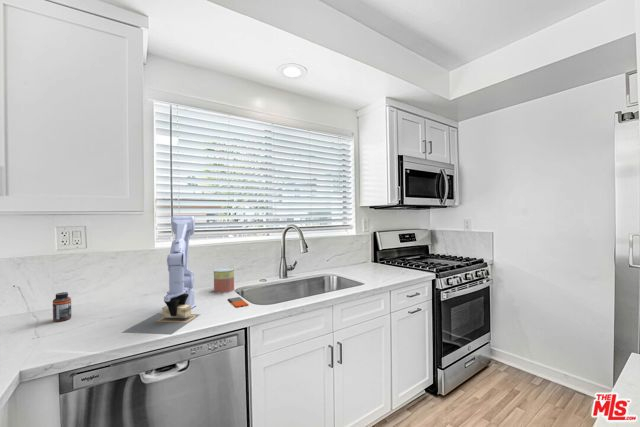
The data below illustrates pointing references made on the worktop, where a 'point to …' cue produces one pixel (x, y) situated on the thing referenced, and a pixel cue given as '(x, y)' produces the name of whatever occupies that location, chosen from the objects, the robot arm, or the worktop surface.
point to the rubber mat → (160, 324)
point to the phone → (237, 302)
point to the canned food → (223, 280)
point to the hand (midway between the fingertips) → (177, 313)
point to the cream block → (182, 311)
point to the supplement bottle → (61, 307)
